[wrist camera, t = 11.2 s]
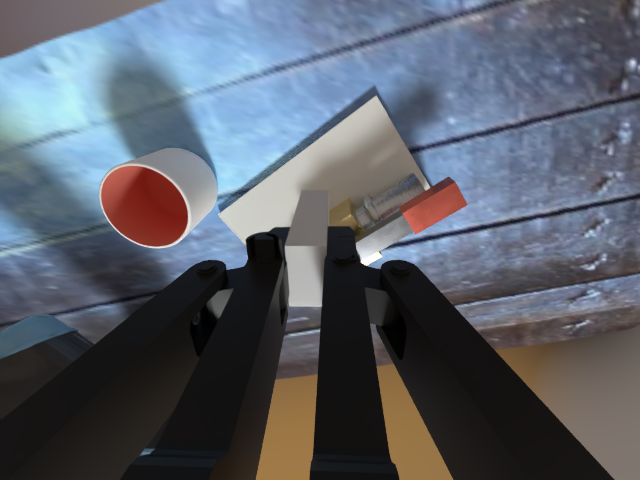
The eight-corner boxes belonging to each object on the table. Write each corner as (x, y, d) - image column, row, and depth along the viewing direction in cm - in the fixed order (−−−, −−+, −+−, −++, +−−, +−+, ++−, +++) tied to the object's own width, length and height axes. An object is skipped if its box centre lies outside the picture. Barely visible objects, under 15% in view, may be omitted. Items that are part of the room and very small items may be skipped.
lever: (338, 272, 39) (339, 281, 37) (320, 249, 37) (319, 258, 35) (462, 202, 34) (469, 208, 32) (446, 172, 32) (453, 177, 31)
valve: (291, 283, 49) (285, 314, 42) (263, 251, 46) (251, 279, 40) (428, 201, 42) (446, 222, 35) (403, 159, 39) (417, 173, 33)
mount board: (292, 291, 50) (292, 295, 49) (220, 212, 44) (217, 214, 43) (439, 205, 42) (442, 207, 41) (375, 95, 36) (376, 95, 35)
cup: (215, 146, 40) (180, 163, 31) (225, 217, 44) (198, 249, 35) (140, 145, 40) (84, 162, 31) (158, 215, 45) (114, 248, 36)
